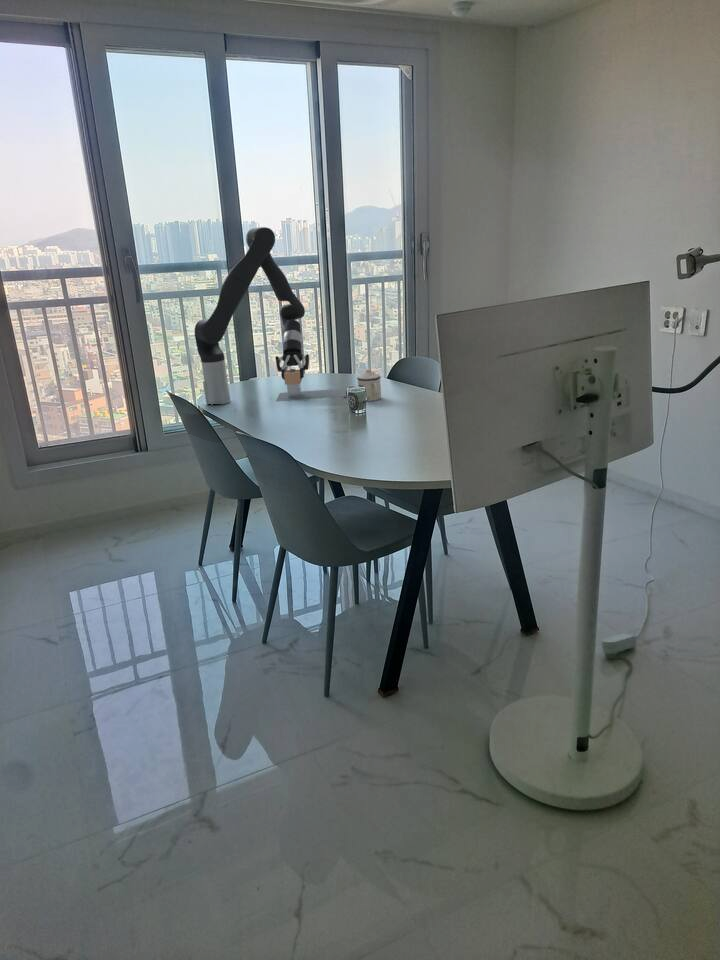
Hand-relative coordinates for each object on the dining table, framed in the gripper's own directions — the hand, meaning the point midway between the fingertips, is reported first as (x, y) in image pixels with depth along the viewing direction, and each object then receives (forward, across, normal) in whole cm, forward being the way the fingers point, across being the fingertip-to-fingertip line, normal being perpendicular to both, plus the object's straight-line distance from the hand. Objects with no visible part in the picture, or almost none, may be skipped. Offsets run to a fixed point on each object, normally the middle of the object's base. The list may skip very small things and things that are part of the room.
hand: (292, 378), depth 264 cm
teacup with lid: (+14, +31, -2) cm, 34 cm away
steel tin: (+4, 0, +6) cm, 8 cm away
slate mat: (+5, +7, +7) cm, 11 cm away
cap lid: (0, 0, +3) cm, 3 cm away
